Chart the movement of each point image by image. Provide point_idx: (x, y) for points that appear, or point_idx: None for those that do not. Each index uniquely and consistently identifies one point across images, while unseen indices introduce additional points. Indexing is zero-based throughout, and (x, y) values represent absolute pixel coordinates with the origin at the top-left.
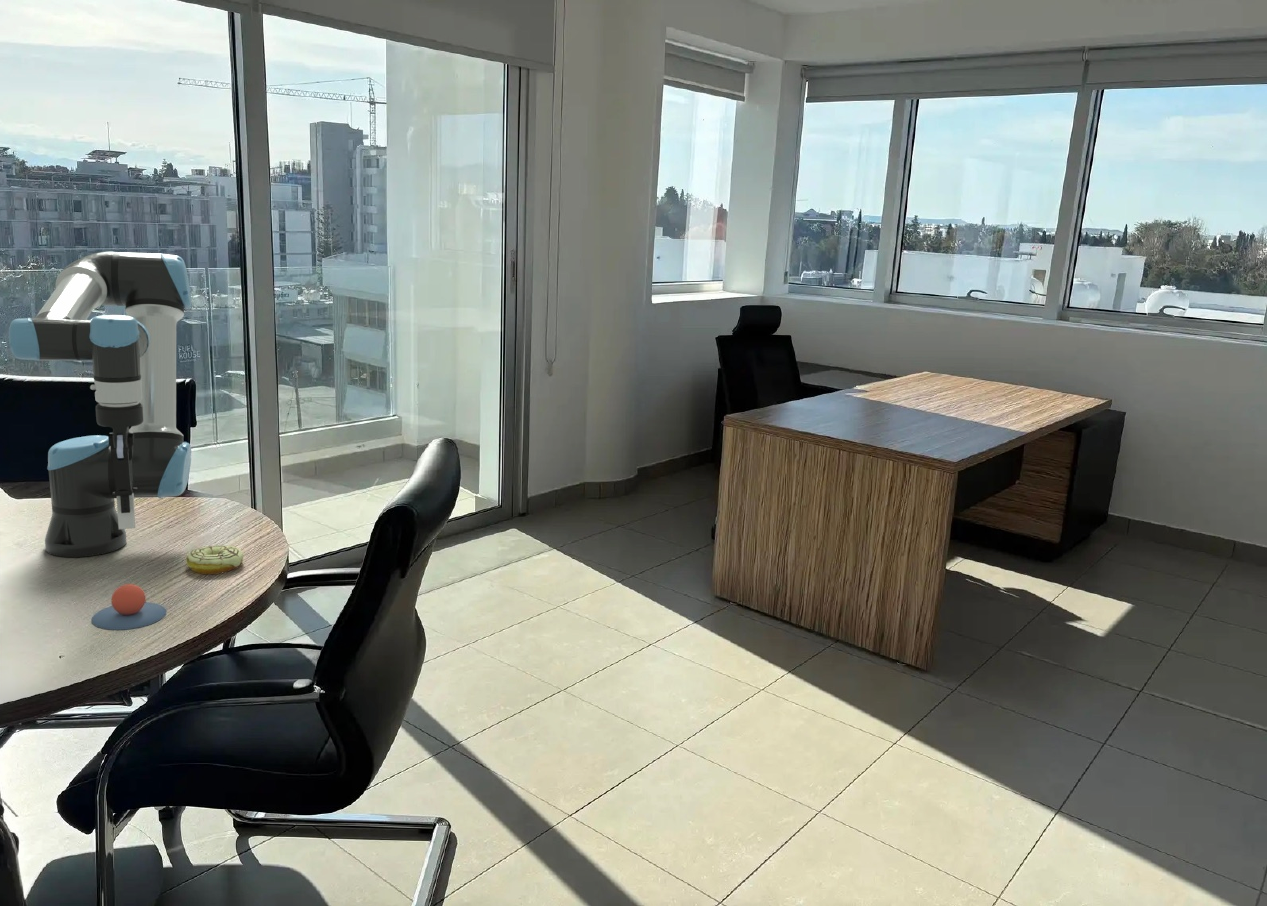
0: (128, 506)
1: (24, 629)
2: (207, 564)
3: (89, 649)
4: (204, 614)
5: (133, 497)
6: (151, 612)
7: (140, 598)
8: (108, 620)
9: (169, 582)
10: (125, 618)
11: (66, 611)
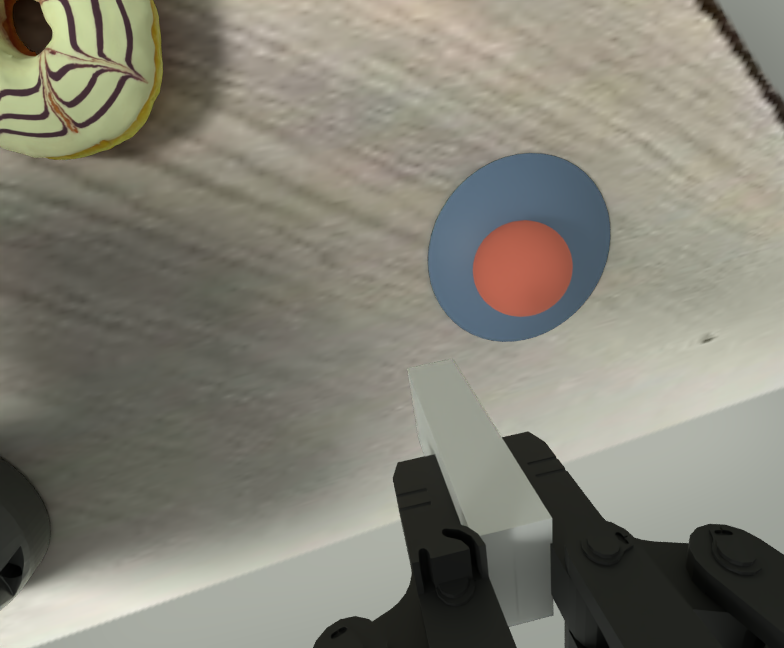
0: (561, 468)
1: None
2: (153, 44)
3: (693, 294)
4: (558, 19)
5: (499, 496)
6: (516, 197)
7: (555, 231)
8: None
9: (253, 194)
10: None
11: None
